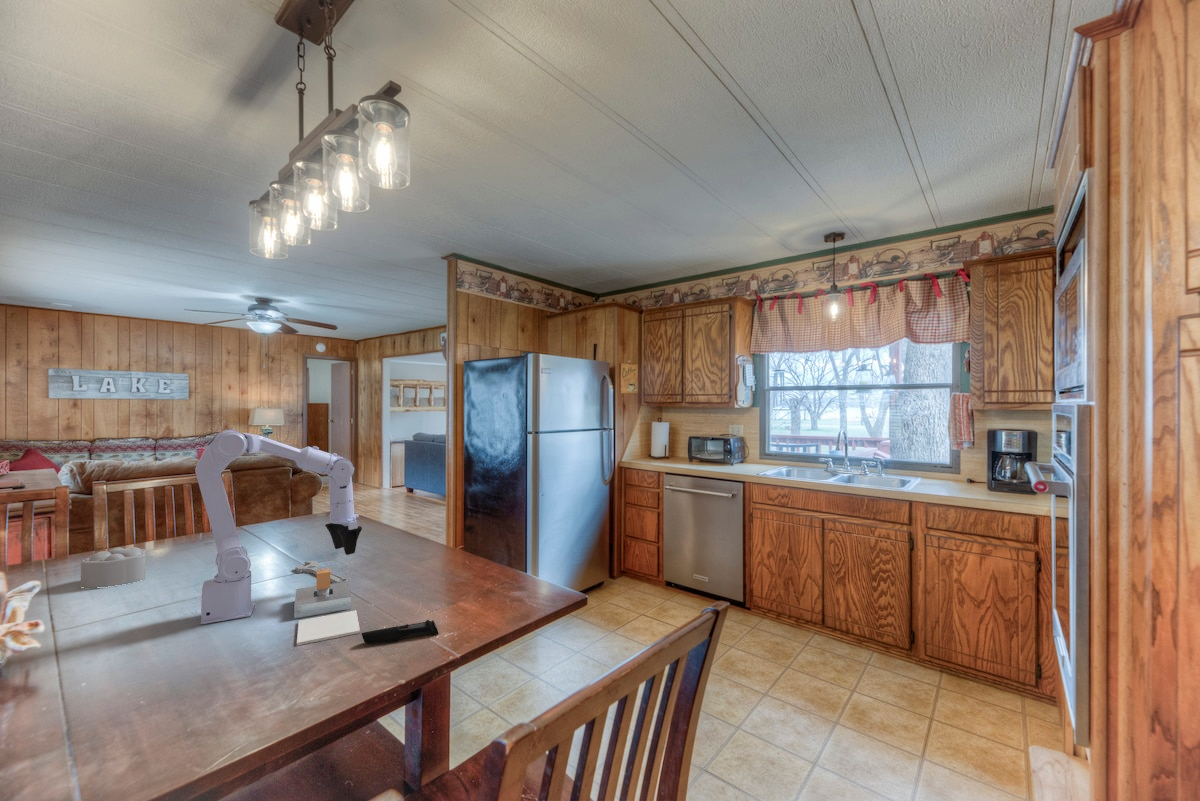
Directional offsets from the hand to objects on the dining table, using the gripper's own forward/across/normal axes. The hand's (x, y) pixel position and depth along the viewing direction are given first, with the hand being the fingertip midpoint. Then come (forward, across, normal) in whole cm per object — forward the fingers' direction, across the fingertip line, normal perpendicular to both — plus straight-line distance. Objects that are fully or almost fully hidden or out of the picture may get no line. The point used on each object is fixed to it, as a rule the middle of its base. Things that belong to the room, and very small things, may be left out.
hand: (344, 550), depth 135 cm
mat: (+10, -21, +12) cm, 26 cm away
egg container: (+8, +52, +43) cm, 68 cm away
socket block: (+10, -6, +8) cm, 15 cm away
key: (+10, -6, +8) cm, 15 cm away
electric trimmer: (+11, -38, +2) cm, 39 cm away
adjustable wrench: (+11, +17, +2) cm, 20 cm away
